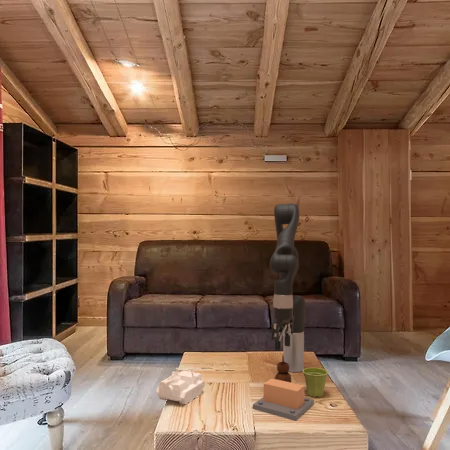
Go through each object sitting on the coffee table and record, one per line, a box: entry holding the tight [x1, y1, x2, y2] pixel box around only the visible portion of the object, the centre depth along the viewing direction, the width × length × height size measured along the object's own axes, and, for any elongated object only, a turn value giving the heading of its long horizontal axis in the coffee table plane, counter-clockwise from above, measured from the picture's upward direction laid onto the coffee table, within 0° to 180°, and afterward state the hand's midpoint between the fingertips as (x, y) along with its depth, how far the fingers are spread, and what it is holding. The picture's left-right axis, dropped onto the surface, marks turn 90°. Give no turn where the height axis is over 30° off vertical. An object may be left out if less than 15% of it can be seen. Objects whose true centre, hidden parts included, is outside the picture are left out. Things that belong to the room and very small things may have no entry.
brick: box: [262, 378, 306, 409], centre depth 140 cm, size 6×13×6 cm, turn 57°
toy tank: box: [155, 367, 206, 405], centre depth 146 cm, size 12×20×10 cm, turn 154°
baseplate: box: [252, 396, 315, 421], centre depth 139 cm, size 16×16×2 cm
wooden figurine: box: [274, 355, 292, 383], centre depth 153 cm, size 7×6×15 cm
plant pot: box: [302, 367, 329, 398], centre depth 151 cm, size 9×9×9 cm
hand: (282, 348), depth 153 cm, fingers open, 8 cm apart
